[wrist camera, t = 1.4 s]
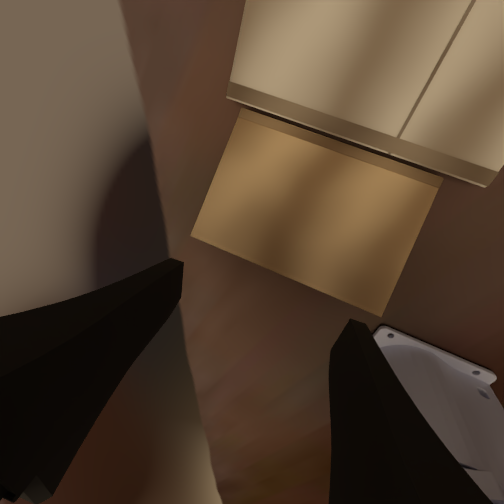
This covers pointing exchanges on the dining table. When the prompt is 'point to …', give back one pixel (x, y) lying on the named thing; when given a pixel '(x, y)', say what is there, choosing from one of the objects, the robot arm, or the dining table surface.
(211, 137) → the dining table surface
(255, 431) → the dining table surface
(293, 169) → the board
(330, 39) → the floor board
